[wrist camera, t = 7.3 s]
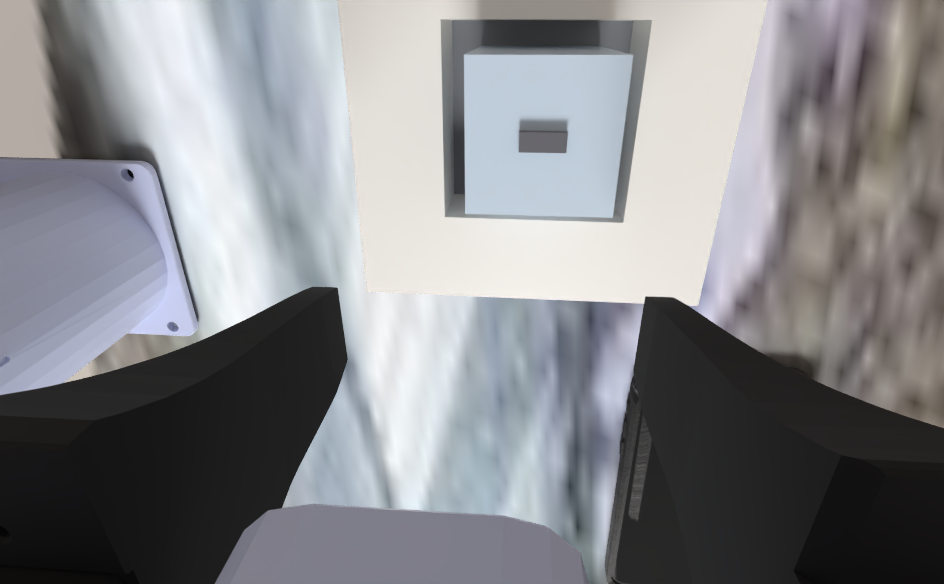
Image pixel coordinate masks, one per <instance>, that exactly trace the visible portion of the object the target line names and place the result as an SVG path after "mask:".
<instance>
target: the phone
mask: <svg viewBox="0 0 944 584" xmlns="http://www.w3.org/2000/svg"><path fill="white" fill-rule="evenodd" d="M788 368H789V369H792V370H794V371H796V372H798V373H800V374H802V375H804V376H806V377H808V376H807V375H806V374H805V373H804V372H802V371H800V370H798V369H796V368H790V367H788ZM626 411H627V414H626V420H625V421H624V427H623V440H621V446H620V455H621V456H620V463H619V470H618V476H617V483H616V490H615V497H614V504H613V511H612V518H611V525H610V532H609V539H608V545H607V552H606V559H605V571H606V577H607V582H608V583H609V584H693V583H692V578H691V574H690V569H689V564H688V560H687V555H686V550H685V546H684V542H683V538H682V533H681V529H680V525H679V521H678V516H677V512H676V508H675V505H674V501H673V498H672V495H671V491H670V488H669V485H668V483H667V480H666V477H665V474H664V471H663V469H662V466H661V463H660V460H659V458H658V455H657V452H656V449H655V446H654V444H653V441H652V438H651V435H650V433H649V430H648V427H647V424H646V421H645V418H644V415H643V412H642V409H641V406H640V402H639V397H638V392H637V387H636V381H635V376H634V377H633V379H632V382H631V387H630V394H629V400H628V402H627V409H626Z"/></svg>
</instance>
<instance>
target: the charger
mask: <svg viewBox="0 0 944 584" xmlns="http://www.w3.org/2000/svg"><path fill="white" fill-rule="evenodd" d="M632 63H633V55H632V54H628V53H624V52H620V51H617V50H613V49H609V48H606V47H602V46H480V47H478V48H476V49H474V50H472V51H470V52H468V53H466V54H464V127H465V214H486V215H524V216H562V217H601V218H613V213H614V205H615V197H616V189H617V181H618V174H619V166H620V158H621V150H622V142H623V134H624V126H625V118H626V111H627V103H628V95H629V87H630V79H631V71H632Z"/></svg>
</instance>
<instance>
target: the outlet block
mask: <svg viewBox="0 0 944 584" xmlns="http://www.w3.org/2000/svg"><path fill="white" fill-rule="evenodd" d="M337 1H338V11H339V21H340V31H341V41H342V51H343V61H344V71H345V82H346V92H347V102H348V112H349V122H350V132H351V142H352V152H353V162H354V172H355V182H356V192H357V202H358V212H359V222H360V232H361V242H362V252H363V263H364V273H365V283H366V292H386V293H409V294H433V295H456V296H480V297H503V298H526V299H550V300H573V301H596V302H620V303H643V304H644V301H645V296H648V297H673V298H675V299H677V300H679V301H681V302H683V303H684V304H686V305H690V306H698V304H699V299H700V295H701V290H702V286H703V282H704V277H705V273H706V268H707V264H708V260H709V255H710V251H711V247H712V242H713V238H714V233H715V229H716V225H717V220H718V216H719V212H720V207H721V203H722V198H723V194H724V190H725V185H726V181H727V176H728V172H729V168H730V163H731V159H732V155H733V150H734V146H735V141H736V137H737V133H738V128H739V124H740V119H741V115H742V111H743V106H744V102H745V98H746V93H747V89H748V84H749V80H750V76H751V71H752V67H753V62H754V58H755V54H756V49H757V45H758V41H759V36H760V32H761V27H762V23H763V19H764V14H765V10H766V6H767V1H768V0H337ZM480 46H602V47H606V48H609V49H613V50H617V51H620V52H624V53H628V54H632V55H633V63H632V71H631V79H630V87H629V95H628V103H627V111H626V118H625V126H624V134H623V142H622V150H621V158H620V166H619V174H618V181H617V189H616V197H615V205H614V213H613V218H601V217H562V216H524V215H486V214H465V127H464V54H466V53H468V52H470V51H472V50H474V49H476V48H478V47H480Z"/></svg>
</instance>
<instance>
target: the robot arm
mask: <svg viewBox="0 0 944 584" xmlns="http://www.w3.org/2000/svg"><path fill="white" fill-rule="evenodd" d="M127 169H129V170H130V171H131V172H132V173H133V175H134V179H133V178H132V177H130V176H129V174H128V170H127ZM172 322H174V323H175V324H177V326H178V327H176V326H175V325H174V324H173V323H172ZM197 329H198V323H197V319H196V315H195V312H194V308H193V304H192V301H191V297H190V293H189V290H188V286H187V283H186V279H185V275H184V272H183V268H182V264H181V261H180V257H179V253H178V250H177V246H176V242H175V239H174V235H173V231H172V228H171V224H170V220H169V217H168V213H167V209H166V206H165V202H164V198H163V195H162V191H161V187H160V184H159V180H158V176H157V173H156V171H155V169H154V168H153V166H152V165H151V164H149V163H147V162H145V161H132V160H91V159H50V158H8V157H7V158H6V157H0V584H588V579H587V576H586V572H585V568H584V565H583V561H582V557H581V554H580V552H579V551H577V550H576V549H575V548H574V547H572V546H571V545H570V544H569V543H567V542H566V541H565V540H564V539H562V538H561V537H560V536H558V535H557V534H556V533H555V532H553V531H552V530H551V529H550V528H548V527H546V526H543V525H539V524H535V523H531V522H527V521H523V520H519V519H515V518H511V517H507V516H501V515H485V514H469V513H453V512H436V511H420V510H404V509H388V508H371V507H355V506H339V505H323V504H309V505H302V506H295V507H288V508H282V506H283V503H284V501H285V498H286V495H287V493H288V490H289V488H290V485H291V483H292V481H293V478H294V476H295V474H296V472H297V470H298V467H299V465H300V464H301V462H302V460H303V458H304V456H305V454H306V452H307V450H308V448H309V446H310V444H311V442H312V440H313V438H314V436H315V435H316V433H317V431H318V429H319V427H320V425H321V423H322V421H323V419H324V417H325V415H326V413H327V411H328V409H329V407H330V405H331V403H332V401H333V399H334V397H335V395H336V393H337V390H338V387H339V384H340V381H341V379H342V375H343V372H344V369H345V366H346V363H347V352H346V345H345V338H344V331H343V324H342V317H341V309H340V302H339V295H338V288H332V287H311V288H308V289H306V290H303V291H301V292H299V293H297V294H295V295H293V296H291V297H289V298H287V299H285V300H283V301H281V302H279V303H277V304H275V305H273V306H271V307H269V308H267V309H265V310H264V311H262V312H260V313H258V314H256V315H254V316H252V317H250V318H248V319H246V320H244V321H242V322H240V323H238V324H236V325H234V326H231V327H229V328H227V329H225V330H223V331H221V332H219V333H217V334H215V335H213V336H210V337H208V338H206V339H203V340H201V341H199V342H196V343H194V344H191V345H189V346H186V347H184V348H181V349H178V350H176V351H173V352H170V353H168V354H165V355H162V356H159V357H156V358H153V359H150V360H147V361H143V362H140V363H137V364H134V365H130V366H127V367H124V368H121V369H117V370H114V371H111V372H107V373H103V374H99V375H95V376H92V377H88V378H83V379H79V380H76V381H71V382H66V383H64V382H65V381H67V380H68V379H69V378H70V377H72V376H73V375H74V374H76V373H77V372H78V371H79V370H81V369H82V368H83V367H84V366H86V365H87V364H88V363H90V362H91V361H92V360H93V359H95V358H96V357H97V356H99V355H100V354H101V353H102V352H104V351H105V350H106V349H108V348H109V347H110V346H111V345H113V344H114V343H115V342H117V341H118V340H119V339H120V338H122V337H123V336H124V335H126V334H127V333H135V334H155V335H174V336H190V335H192V334H193V333H194V332H195V331H196V330H197ZM634 376H635V381H636V387H637V392H638V397H639V402H640V406H641V409H642V412H643V415H644V418H645V421H646V424H647V427H648V430H649V433H650V435H651V438H652V441H653V444H654V446H655V449H656V452H657V455H658V458H659V460H660V463H661V466H662V469H663V471H664V474H665V477H666V480H667V483H668V485H669V488H670V491H671V495H672V498H673V501H674V505H675V508H676V512H677V516H678V521H679V525H680V529H681V533H682V538H683V542H684V546H685V550H686V555H687V560H688V564H689V569H690V574H691V578H692V583H693V584H944V428H941V427H938V426H935V425H931V424H928V423H925V422H922V421H919V420H916V419H912V418H909V417H906V416H903V415H900V414H897V413H894V412H892V411H889V410H886V409H883V408H880V407H877V406H875V405H872V404H870V403H867V402H864V401H862V400H859V399H857V398H854V397H852V396H849V395H847V394H844V393H842V392H839V391H837V390H834V389H832V388H830V387H828V386H825V385H823V384H821V383H818V382H816V381H814V380H812V379H810V378H808V377H806V376H804V375H802V374H800V373H798V372H796V371H794V370H792V369H789V368H788V367H786V366H784V365H782V364H780V363H778V362H776V361H774V360H773V359H771V358H769V357H767V356H766V355H764V354H762V353H760V352H759V351H757V350H755V349H754V348H752V347H750V346H748V345H747V344H745V343H744V342H742V341H740V340H739V339H737V338H736V337H734V336H733V335H731V334H729V333H728V332H726V331H725V330H723V329H722V328H720V327H719V326H717V325H716V324H714V323H713V322H711V321H710V320H708V319H707V318H705V317H704V316H702V315H701V314H699V313H698V312H696V311H695V310H693V309H692V308H690V307H689V306H687V305H686V304H684V303H683V302H681V301H679V300H677V299H675V298H673V297H648V296H645V301H644V308H643V314H642V320H641V327H640V333H639V339H638V346H637V352H636V358H635V365H634Z"/></svg>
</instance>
